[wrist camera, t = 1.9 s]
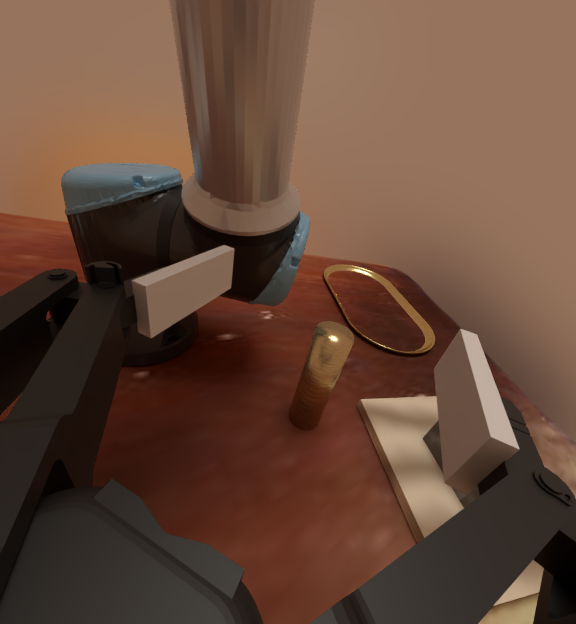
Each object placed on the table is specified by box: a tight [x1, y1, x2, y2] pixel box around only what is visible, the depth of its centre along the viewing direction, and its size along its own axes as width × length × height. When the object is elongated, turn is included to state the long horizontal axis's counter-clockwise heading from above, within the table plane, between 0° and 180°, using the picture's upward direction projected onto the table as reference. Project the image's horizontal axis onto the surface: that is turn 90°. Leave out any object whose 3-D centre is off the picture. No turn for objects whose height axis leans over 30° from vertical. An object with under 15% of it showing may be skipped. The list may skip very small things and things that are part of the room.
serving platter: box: [324, 265, 435, 355], centre depth 62 cm, size 19×35×2 cm, turn 9°
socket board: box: [357, 396, 544, 606], centre depth 31 cm, size 20×20×6 cm
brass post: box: [289, 321, 354, 430], centre depth 31 cm, size 4×4×14 cm
